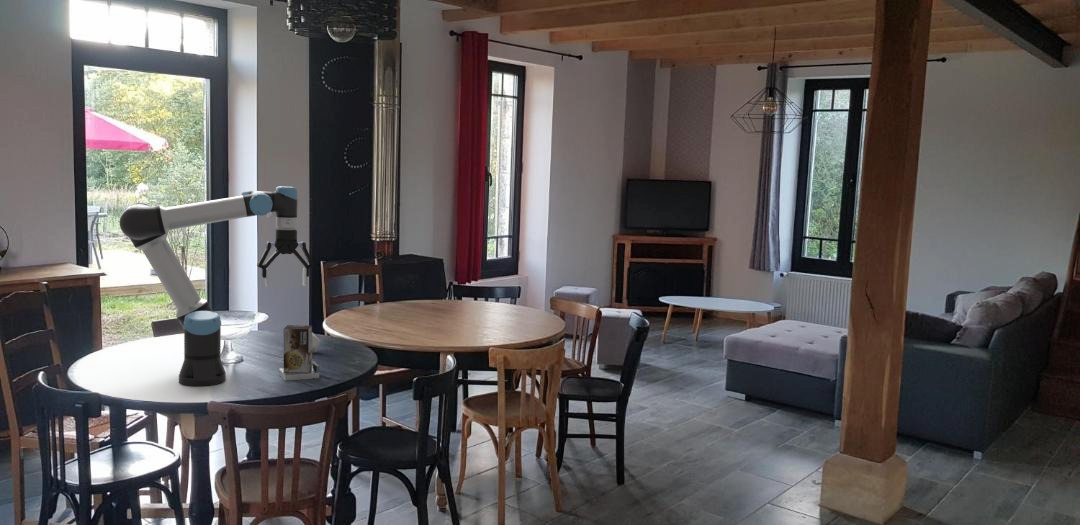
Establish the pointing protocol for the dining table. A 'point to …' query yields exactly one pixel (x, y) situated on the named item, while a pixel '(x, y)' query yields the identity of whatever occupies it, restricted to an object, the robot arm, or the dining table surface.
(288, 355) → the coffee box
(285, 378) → the tray
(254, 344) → the dining table surface
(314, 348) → the die
